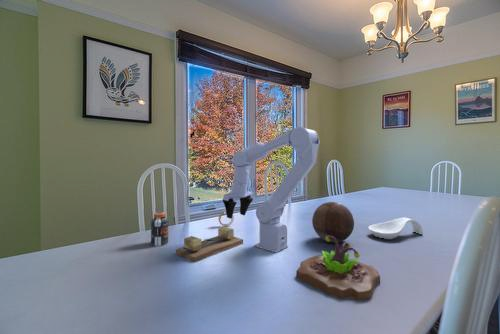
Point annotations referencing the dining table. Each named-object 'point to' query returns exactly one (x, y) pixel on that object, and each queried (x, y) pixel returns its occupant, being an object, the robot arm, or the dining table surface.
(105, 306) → the dining table surface
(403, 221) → the spoon rest
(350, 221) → the wooden sphere
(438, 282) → the dining table surface
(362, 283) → the plant
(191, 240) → the flat brown board
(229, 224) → the ring
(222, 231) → the block
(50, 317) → the dining table surface
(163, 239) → the pill bottle
